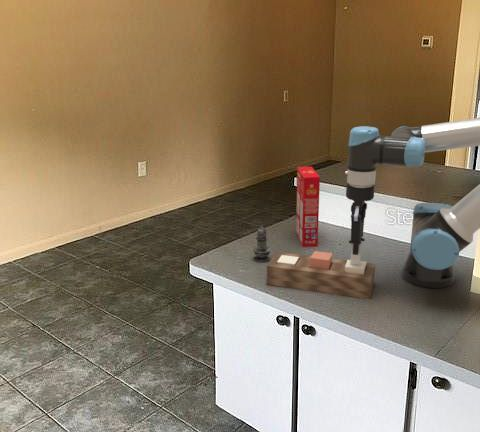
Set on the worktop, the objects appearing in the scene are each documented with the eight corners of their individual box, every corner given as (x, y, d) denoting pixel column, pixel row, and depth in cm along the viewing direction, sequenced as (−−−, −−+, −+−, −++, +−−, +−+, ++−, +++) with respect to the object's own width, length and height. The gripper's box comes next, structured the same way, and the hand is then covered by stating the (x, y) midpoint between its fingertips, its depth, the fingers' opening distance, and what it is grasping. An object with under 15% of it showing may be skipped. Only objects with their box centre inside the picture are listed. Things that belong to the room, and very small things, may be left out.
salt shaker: (261, 254, 181) (261, 220, 177) (274, 258, 177) (274, 224, 173) (249, 259, 177) (248, 225, 173) (262, 264, 173) (262, 229, 169)
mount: (373, 282, 160) (375, 263, 158) (369, 298, 150) (371, 279, 148) (276, 269, 169) (277, 252, 167) (266, 284, 159) (266, 265, 158)
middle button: (331, 266, 160) (332, 253, 158) (328, 273, 155) (328, 260, 153) (313, 263, 161) (314, 251, 160) (310, 271, 156) (310, 257, 155)
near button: (365, 274, 157) (366, 261, 155) (363, 282, 152) (364, 269, 151) (347, 272, 159) (347, 259, 157) (344, 280, 154) (344, 266, 152)
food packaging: (317, 246, 187) (319, 177, 179) (302, 247, 187) (304, 177, 178) (309, 231, 201) (311, 166, 193) (295, 232, 201) (297, 167, 192)
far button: (298, 269, 164) (299, 257, 162) (294, 277, 159) (294, 264, 157) (281, 267, 165) (281, 254, 164) (276, 274, 161) (277, 261, 159)
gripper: (350, 177, 153) (345, 253, 161) (342, 189, 142) (338, 270, 149) (377, 179, 151) (371, 256, 158) (371, 191, 139) (365, 274, 147)
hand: (355, 263), depth 154 cm, fingers closed
